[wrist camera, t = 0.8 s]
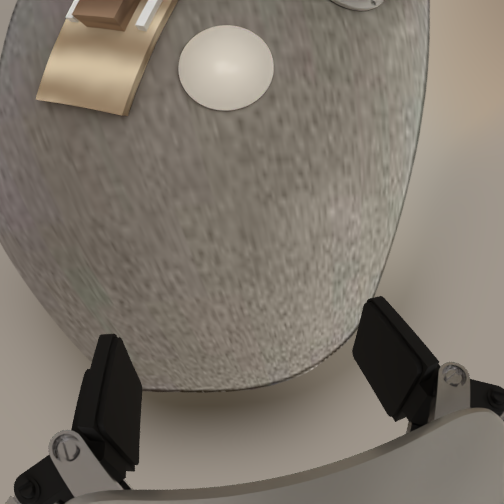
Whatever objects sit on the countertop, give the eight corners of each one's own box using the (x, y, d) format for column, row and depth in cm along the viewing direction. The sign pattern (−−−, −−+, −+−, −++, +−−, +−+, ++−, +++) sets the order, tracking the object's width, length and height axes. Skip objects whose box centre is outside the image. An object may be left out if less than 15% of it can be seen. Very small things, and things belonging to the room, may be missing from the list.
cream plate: (200, 16, 25) (200, 14, 24) (284, 46, 28) (286, 45, 28) (164, 95, 29) (164, 94, 28) (252, 123, 32) (253, 123, 32)
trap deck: (129, -63, 16) (123, -80, 12) (211, -52, 20) (214, -70, 15) (46, 99, 25) (27, 99, 21) (127, 115, 29) (117, 115, 24)
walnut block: (105, -9, 18) (93, -25, 14) (143, -4, 20) (136, -22, 16) (86, 27, 20) (71, 14, 16) (124, 31, 22) (113, 18, 17)
